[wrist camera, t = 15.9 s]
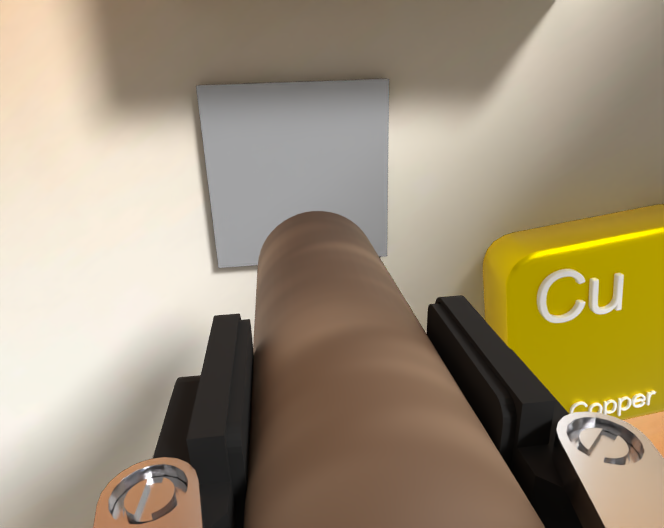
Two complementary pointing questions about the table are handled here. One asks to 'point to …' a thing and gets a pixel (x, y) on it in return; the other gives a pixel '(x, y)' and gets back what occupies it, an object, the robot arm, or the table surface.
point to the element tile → (585, 308)
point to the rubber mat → (294, 158)
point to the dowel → (359, 400)
